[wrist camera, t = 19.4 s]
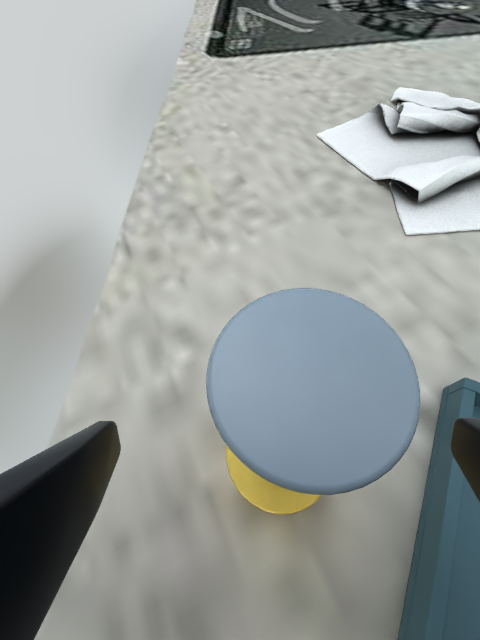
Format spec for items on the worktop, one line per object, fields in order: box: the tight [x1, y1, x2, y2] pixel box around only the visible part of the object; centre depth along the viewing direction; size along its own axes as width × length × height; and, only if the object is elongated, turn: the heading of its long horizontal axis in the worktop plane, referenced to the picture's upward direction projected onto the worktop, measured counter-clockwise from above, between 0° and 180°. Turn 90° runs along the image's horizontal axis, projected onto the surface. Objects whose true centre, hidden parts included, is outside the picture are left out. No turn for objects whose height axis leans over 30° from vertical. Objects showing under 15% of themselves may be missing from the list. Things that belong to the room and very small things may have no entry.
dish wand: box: [206, 288, 420, 514], centre depth 10 cm, size 5×5×14 cm
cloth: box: [316, 87, 480, 235], centre depth 26 cm, size 20×22×2 cm
